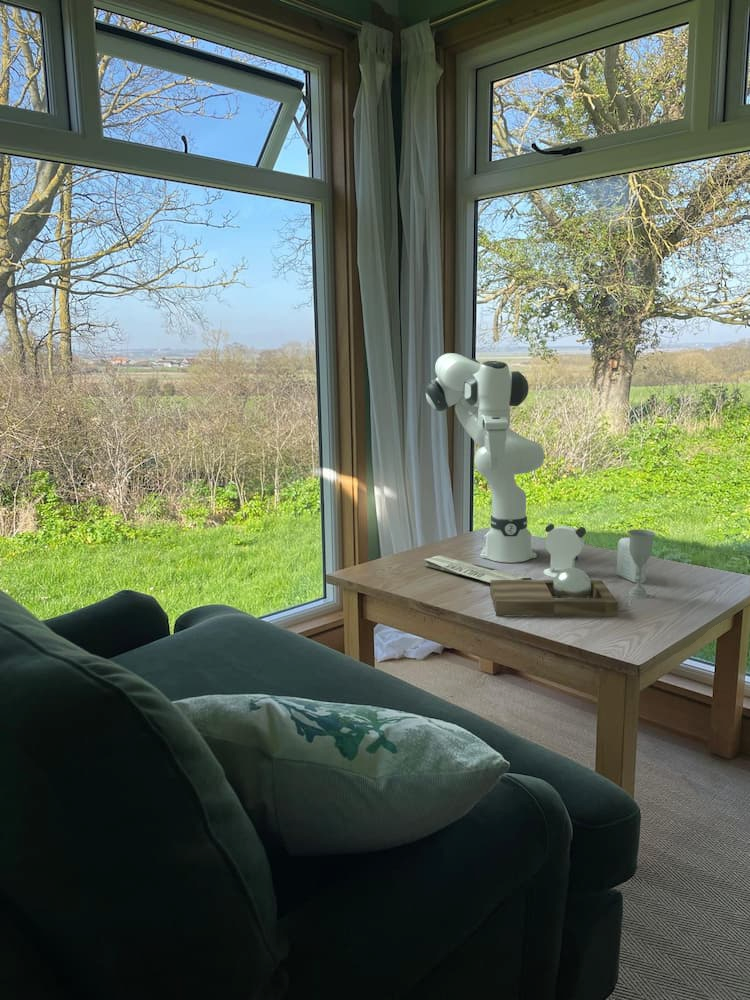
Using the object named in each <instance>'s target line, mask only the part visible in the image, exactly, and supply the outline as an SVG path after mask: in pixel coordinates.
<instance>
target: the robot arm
mask: <svg viewBox="0 0 750 1000" xmlns="http://www.w3.org/2000/svg"><path fill="white" fill-rule="evenodd" d="M434 371H435V375H436V378H434V379H431V380H430V382H429V383H428V384H427V386H426V388H425V391H424V393H425V397H426V401H427V403H428V404H429V405H430V407H431V408H433V409H435V410H436V411H438V412H443V411H445V410H449V408H450V407H452V406H454V405H455V409H454V412H455V414H456V416H457V419H458V420H459V423H460V424H461V425H462V428H464V429H465V431H466V432H467V434H468V435H469V437H471V439H472V440H473V442H474V443H475V444H476V445H477V446H478V447H479V448H478V449H477V450H476V451H475V452H476V453H475V454H474V460H473V461H474V468H476V470H477V472H478V473H479V474H480V475H481V476H483V478H484V479H485V481H486V482H487V484H488V486H489V490H490V492H491V493H490V494H491V515H490V519H489V521H490V528H489V530H488V531H487V533H486V534H484V535H483V541H484V542H486V543H484V545H483V547H482V550H481V552H480V553H479V554H480V555H479V558H482V559H488V560H491V561H493V562H494V561H495V562H500V563H521V562H526V561H528V560H531V559H535V558H537V557H538V555H537V553H536V552H535V551H533V550H532V549H533V548H532V547H533V545H532V542H533V540H532V533H531V531H529V530H528V528H527V527H528V516H527V494H526V492H525V490H524V489H522V488H521V487H520V486H518V484H517V483H516V480H515V479H516V478H515V475H522V474H527V473H531V472H534V471H535V470H538V469H540V468H541V466H543V464H544V461H545V452H544V449H543V447H542V445H541V444H540V443H539V442H537V441H535V440H531V439H528V438H526V437H524V436H523V435H520V434H519V433H517V432H516V431H514V430H512V429H511V428H510V426H511V407H519V406H520V405H521V404H522V403H523V402H524V401H525V400H526V399H527V396H528V395H529V383H528V380H527V378H526V377H525V376H524V375H523V374H522V373H521V372H520V371H519V370H517V371H515V370H514V371H510V368H509V365H508V364H507V363H506V362H503V361H498V360H488V361H487V360H486V361H484V362H479V361H478V360H477V359H476V358H473V357H470V358H467V357H466V356H464V355H462V354H459V353H453V352H451V353H450V352H447V353H444V354H442V355H440V356H439V357H438V358H437V359H436V361H435V367H434Z"/></svg>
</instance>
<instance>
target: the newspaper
mask: <svg viewBox="0 0 750 1000" xmlns="http://www.w3.org/2000/svg"><path fill="white" fill-rule="evenodd" d="M421 559H423V560H424V565H425V567H428V568H430V569H435V570H438V571H441V572H442V571H443V572H447V573H450V574H453V575H454V574H455V575H458V576H462V577H466V578H469V579H473V580H476V581H481V582H483V583H487V584H490V580H533V579H532V578H531V577H529V576H525V575H521V574H517V573H512V572H509V571H505V570H500V569H496V568H493V567H489V566H485V565H484V566H483V565H480V564H475V563H472V562H467V561H464V560H459V559H455V558H451V557H447V556H443V555H434V556H432V557H429V558H422V557H421Z"/></svg>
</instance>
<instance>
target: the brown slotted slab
mask: <svg viewBox="0 0 750 1000" xmlns="http://www.w3.org/2000/svg"><path fill="white" fill-rule="evenodd" d="M553 582H554V579H532V580H490V583H489V584H490V585H489V586H490V587H489V589H490V590H489V592H490V598H491V601H493V602H492V605H494V606H493V609H495V610H494V612H496V614H495V616H496V615H533V616H532V617H618V610H619V609H618V608H619V607H618V604H619V602H618V600H617V599H616V597H615V596H614V595H613V593H612V592H611V590H610V589H609V588H608V587H607V585H606V584H605V583H604V581H603V580H602V579H601V580H600V579H590V582H591V592H590V595H589V597H591V598H589V597H588V598H557V597H556V595H555V593H554V590H553Z"/></svg>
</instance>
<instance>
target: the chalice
mask: <svg viewBox="0 0 750 1000" xmlns="http://www.w3.org/2000/svg"><path fill="white" fill-rule="evenodd" d="M627 533H628V536H629V538H630V543H629V550H630V553H631V556H632V559H633V561H634V563H635V564H637V565H638V569H637V571H636V572H637V574H638V575H637V577H636V579H637V583H635V585H633V586H632V587H631V589H630V590H629V593H628V595H629V596H630V597H632V596H633V597H632V598H636V597H639V599H643V598H644V599H645V598H648V596H649V595H648V593H647V590H646V587H645V586H643V585H642V583H640V582H641V580H642V577H641V573H642V570H641V567H642V565H645V564H646V562H647V563H648V560H649V559H650V556H651V555H652V552H653V544H654V543H653V541H654V537H655V535H656V532H654V531H652V530H647V529H629V530H628V531H627Z"/></svg>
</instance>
